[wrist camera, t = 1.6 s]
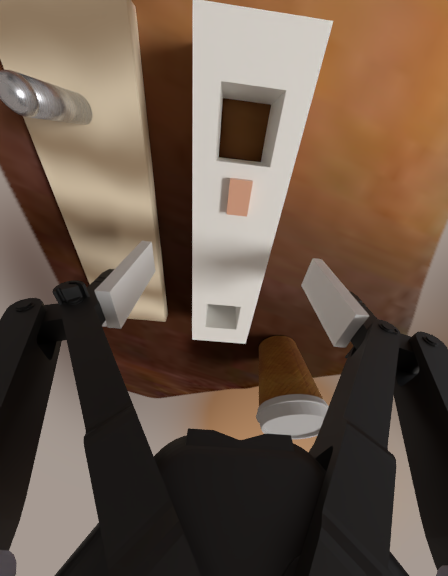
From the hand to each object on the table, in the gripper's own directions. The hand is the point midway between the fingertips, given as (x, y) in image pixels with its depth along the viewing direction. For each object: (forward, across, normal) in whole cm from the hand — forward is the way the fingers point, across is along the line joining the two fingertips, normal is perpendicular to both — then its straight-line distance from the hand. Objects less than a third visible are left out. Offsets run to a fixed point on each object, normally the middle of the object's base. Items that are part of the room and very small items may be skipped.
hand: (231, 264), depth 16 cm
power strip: (+7, 0, 0) cm, 7 cm away
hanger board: (+7, -12, +1) cm, 14 cm away
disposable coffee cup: (+7, +10, -19) cm, 23 cm away
